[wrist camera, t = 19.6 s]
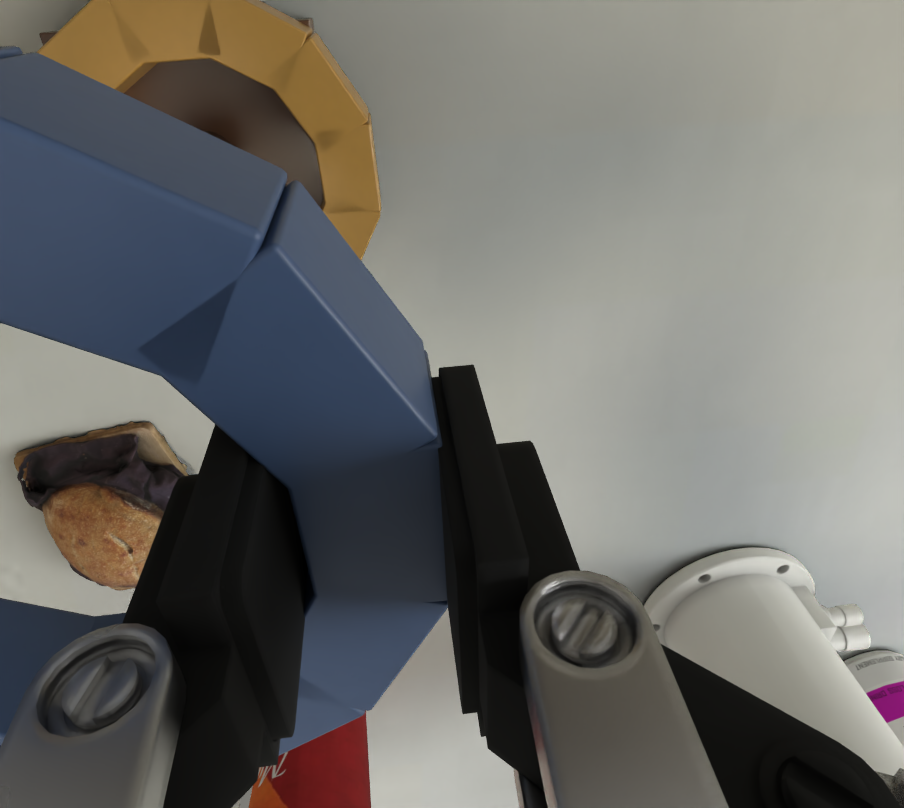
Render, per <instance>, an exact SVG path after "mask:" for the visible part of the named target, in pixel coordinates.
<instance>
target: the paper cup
mask: <svg viewBox="0 0 904 808" xmlns="http://www.w3.org/2000/svg"><path fill="white" fill-rule="evenodd" d="M249 808H371V798H370V780H369V762H368V743H367V726H366V710H365V713H364V715H363V716H361V717H359V718H357V719H355V720H353V721H350V722H348V723H346V724H344V725H342V726H340V727H338V728H336V729H334V730H332V731H330V732H327V733H325V734H323V735H321V736H319V737H317V738H315V739H313V740H311V741H309V742H307V743H304V744H302V745H300V746H298V747H296V748H294V749H292V750H290V751H288V752H286V753H283V754H281V755H279V757H278V765H273V766H266V767H259V773H258V780H257V782H256V783H255V784H254V785H253V788H252V794H251V798H250V804H249Z"/></svg>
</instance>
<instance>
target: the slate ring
mask: <svg viewBox="0 0 904 808" xmlns="http://www.w3.org/2000/svg"><path fill="white" fill-rule="evenodd" d="M286 182H287V173H286V172H285V171H284V170H283V169H282V168H280V167H278V166H276V165H273V164H271V163H269V162H267V161H265V160H263V159H261V158H259V157H257V156H254V155H252V154H250V153H248V152H246V151H244V150H242V149H240V148H238V147H235V146H233V145H231V144H229V143H227V142H225V141H223V140H221V139H219V138H216V137H214V136H212V135H210V134H208V133H206V132H204V131H202V130H200V129H197V128H195V127H193V126H191V125H189V124H187V123H185V122H183V121H181V120H178V119H176V118H174V117H172V116H170V115H168V114H166V113H164V112H162V111H160V110H157V109H155V108H153V107H151V106H149V105H147V104H145V103H143V102H141V101H138V100H136V99H134V98H132V97H130V96H128V95H126V94H124V93H122V92H119V91H117V90H115V89H113V88H111V87H109V86H107V85H105V84H103V83H100V82H98V81H96V80H94V79H92V78H90V77H88V76H86V75H84V74H81V73H79V72H77V71H75V70H73V69H71V68H69V67H67V66H65V65H62V64H60V63H58V62H56V61H54V60H52V59H50V58H48V57H46V56H43V55H41V54H39V53H26V54H23V53H22V51H21V49H20V48H18V47H16V46H6V47H0V323H3V324H6V325H9V326H12V327H15V328H18V329H21V330H24V331H27V332H30V333H33V334H36V335H39V336H42V337H45V338H48V339H51V340H54V341H57V342H60V343H63V344H66V345H69V346H72V347H75V348H78V349H81V350H84V351H87V352H90V353H93V354H96V355H99V356H102V357H105V358H109V359H112V360H115V361H118V362H121V363H124V364H127V365H130V366H133V367H136V368H139V369H142V370H145V371H148V372H151V373H154V374H157V375H160V376H162V377H163V378H164V379H165V380H166V381H167V382H169V383H170V384H171V385H172V386H173V387H174V388H175V389H176V390H178V391H179V392H180V393H181V394H182V395H183V396H184V397H185V398H187V399H188V400H189V401H190V402H191V403H192V404H193V405H194V406H196V407H197V408H198V409H199V410H200V411H201V412H202V413H203V414H205V415H206V416H207V417H208V418H209V419H210V420H211V421H212V422H214V423H215V424H216V425H217V426H218V427H219V428H220V429H221V430H223V431H224V432H225V433H226V434H227V435H228V436H229V437H230V438H231V439H233V440H234V441H235V442H236V443H237V444H238V445H239V446H240V447H242V448H243V449H244V450H245V451H246V452H247V453H248V454H249V455H251V456H252V457H253V458H254V459H255V460H256V461H257V462H258V463H260V464H261V465H263V466H264V467H265V469H266V470H267V471H269V472H270V473H271V474H272V475H273V476H274V477H275V478H276V479H278V480H279V481H280V482H281V483H282V484H283V485H284V486H285V487H287V488H288V491H289V495H290V499H291V503H292V507H293V511H294V515H295V519H296V523H297V527H298V531H299V535H300V539H301V544H302V548H303V552H304V556H305V560H306V564H307V568H308V572H307V582H306V593H305V603H304V617H305V625H304V636H303V647H302V658H301V668H300V679H299V690H298V701H297V712H296V723H295V730H294V734H293V736H292V737H289V738H282V739H280V748H279V755H281V754H283V753H286V752H288V751H290V750H292V749H294V748H296V747H298V746H300V745H302V744H304V743H307V742H309V741H311V740H313V739H315V738H317V737H319V736H321V735H323V734H325V733H327V732H330V731H332V730H334V729H336V728H338V727H340V726H342V725H344V724H346V723H348V722H350V721H353V720H355V719H357V718H359V717H361V716H363V715H364V713H365V710H367V711H368V710H371V709H372V708H373V707H374V705H375V704H376V703H377V701H378V700H379V699H380V697H381V696H382V695H383V693H384V692H385V691H386V689H387V688H388V687H389V685H390V684H391V683H392V681H393V680H394V679H395V677H396V676H397V675H398V673H399V672H400V671H401V669H402V668H403V667H404V665H405V664H406V663H407V661H408V660H409V659H410V657H411V656H412V655H413V653H414V652H415V651H416V649H417V648H418V647H419V645H420V644H421V643H422V641H423V640H424V639H425V637H426V636H427V635H428V633H429V632H430V631H431V629H432V628H433V627H434V625H435V624H436V623H437V621H438V620H439V619H440V617H441V616H442V615H443V613H444V612H445V611H446V609H447V608H448V603H447V587H446V571H445V555H444V538H443V522H442V506H441V490H440V473H439V457H438V448H440V447H442V439H441V434H440V428H439V422H438V416H437V410H436V404H435V398H434V393H433V387H432V381H431V378H432V377H431V371H430V365H429V360H428V354H427V352H426V351H425V350H424V347H423V342H422V340H421V338H420V337H419V336H418V334H417V333H416V332H415V330H414V329H413V328H412V327H411V325H410V324H409V323H408V321H407V320H406V319H405V317H404V316H403V315H402V314H401V312H400V311H399V310H398V308H397V307H396V306H395V304H394V303H393V302H392V301H391V299H390V298H389V297H388V295H387V294H386V293H385V291H384V290H383V289H382V288H381V286H380V285H379V284H378V282H377V281H376V280H375V278H374V277H373V276H372V274H371V273H370V272H369V271H368V269H367V268H366V267H365V265H364V264H363V263H362V261H361V260H360V259H359V258H358V256H357V255H356V254H355V252H354V251H353V250H352V248H351V247H350V246H349V245H348V243H347V242H346V241H345V239H344V238H343V237H342V235H341V234H340V233H339V232H338V230H337V229H336V228H335V226H334V225H333V224H332V222H331V221H330V220H329V219H328V217H327V216H326V215H325V213H324V212H323V211H322V209H321V208H320V207H319V206H318V204H317V203H316V202H315V200H314V199H313V198H312V196H311V195H310V194H309V192H308V191H307V190H306V189H305V187H304V186H303V185H302V183H300V182H299V181H297V180H296V181H292V182H290V183H289V184H288V185H286ZM285 185H286V186H285ZM125 615H126V613H120V614H112V615H103V616H95V617H94V616H89V615H84V614H79V613H74V612H69V611H64V610H59V609H53V608H48V607H43V606H38V605H33V604H28V603H23V602H17V601H12V600H7V599H2V598H0V746H1V745H2V742H3V740H4V738H5V736H6V733H7V731H8V729H9V727H10V724H11V722H12V720H13V718H14V716H15V713H16V711H17V709H18V707H19V704H20V702H21V700H22V698H23V696H24V693H25V692H26V690H27V688H28V687H29V685H30V683H31V682H32V680H33V679H34V677H35V675H36V674H37V672H38V671H39V670H40V669H41V668H42V667H43V666H44V665H45V664H46V663H47V662H48V661H49V660H50V659H51V658H52V657H53V656H54V655H55V654H56V653H57V652H59V651H60V650H62V649H63V648H64V647H66V646H67V645H68V644H70V643H71V642H73V641H74V640H76V639H78V638H80V637H82V636H84V635H86V634H88V633H90V632H92V631H94V630H96V629H100V628H104V627H108V626H111V625H115V624H122V623H123V620H124V617H125Z"/></svg>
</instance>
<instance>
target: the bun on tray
mask: <svg viewBox="0 0 904 808" xmlns="http://www.w3.org/2000/svg"><path fill="white" fill-rule="evenodd" d="M14 464H15V467H16V469H17V471H18V472H19V473H18V477H17V478H18V480H19V481H20V482H21V485H22V490H23V493H24V497H25V499H26V500H27V502H28V503H29V504H30V505H31V506H32V507H36V508H37V509H39V510H41V511H42V512H43V514H44V518H45V523H46V526H47V528H48V530H49V532H50V534H51V536H52V538H53V539H54V541H55V543H56V545H57V546H58V548H59V549H60V551H61V553H62V555H63V556H64V557H65V558H66V559H67V560H68V561H69V563H70V566H71V568H72V569H73V571H74V572H76V573H78V574H79V575H80V576H82V577H84V578H86V579H88V580H90V581H94V582H96V583H97V584H99V585H101V586H109V587H110V588H112V589H115V590H126V589H131V588H136V586H137V583H138V580H139V578H140V575H141V572H142V570H143V567H144V564H145V562H146V559H147V556H148V554H149V551H150V548H151V546H152V543H153V541H154V538H155V535H156V533H157V530H158V527H159V525H160V522H161V519H162V517H163V514H164V511H165V509H166V506H167V503H168V501H169V498H170V496H171V493H172V490H173V488H174V485H175V484H176V482H177V480H178V479H179V478H180V477H182V476H187V475H188V474H187V473H186V468H187V466H186V465H185V464H181V463H180V462H179V461H178V459H177V458H176V454H175V453H173V452H172V451H171V449H170V448H169V446H168V444H167V442H166V441H165V439H164V436H161V435H160V433H159V432H158V431H157V430H156V428H155V427H154V426H153V425H152V424H151V423H134V422H130V423H129V424H128V425H125V426H122V425H121V426H120V427H119V426H117V427H116V428H110V429H108V430H105V429H102V430H95V431H91V432H88V434H87V435H85V436H81V437H77V438H70V437H64V438H61V439H58V440H56V441H55V442H54V443H50V444H47V445H43V446H39V447H36V448H32V449H25V450H23V451H20V452H18V453H17V454H16V457H15V458H14ZM22 478H23V479H24V480H25V481H24V480H23V481H22V480H21V479H22ZM26 485H27V487H26Z"/></svg>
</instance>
